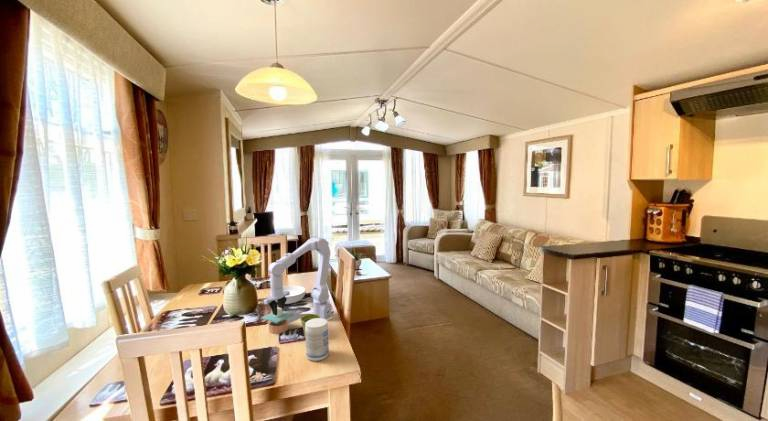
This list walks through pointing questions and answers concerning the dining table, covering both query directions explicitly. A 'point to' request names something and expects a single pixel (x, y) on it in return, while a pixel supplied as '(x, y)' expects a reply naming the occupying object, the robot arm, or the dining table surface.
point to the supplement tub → (316, 339)
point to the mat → (294, 316)
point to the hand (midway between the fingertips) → (277, 313)
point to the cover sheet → (272, 318)
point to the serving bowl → (294, 293)
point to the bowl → (278, 327)
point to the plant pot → (307, 318)
